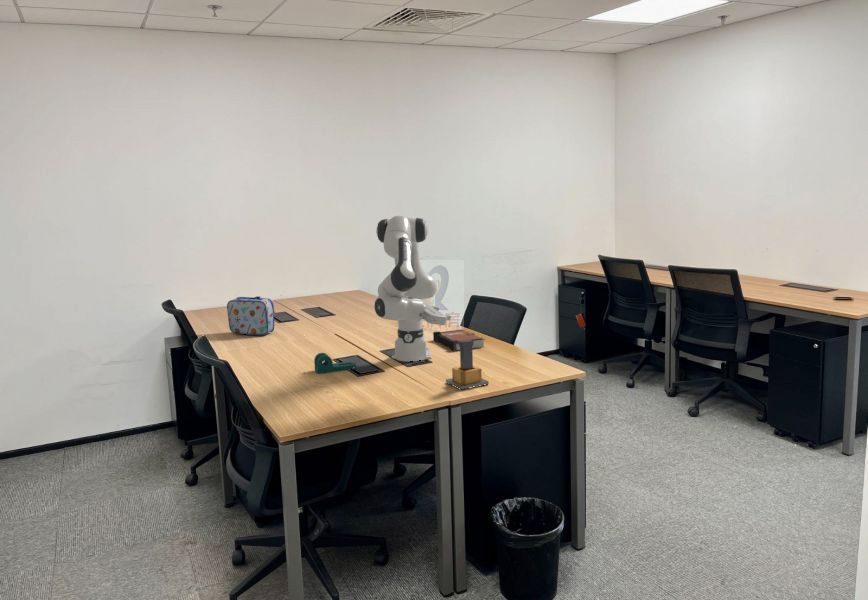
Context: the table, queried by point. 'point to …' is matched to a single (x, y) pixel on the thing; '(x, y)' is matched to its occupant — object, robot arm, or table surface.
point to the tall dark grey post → (466, 354)
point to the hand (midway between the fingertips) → (443, 313)
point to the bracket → (330, 364)
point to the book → (457, 339)
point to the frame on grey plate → (466, 378)
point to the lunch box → (251, 315)
